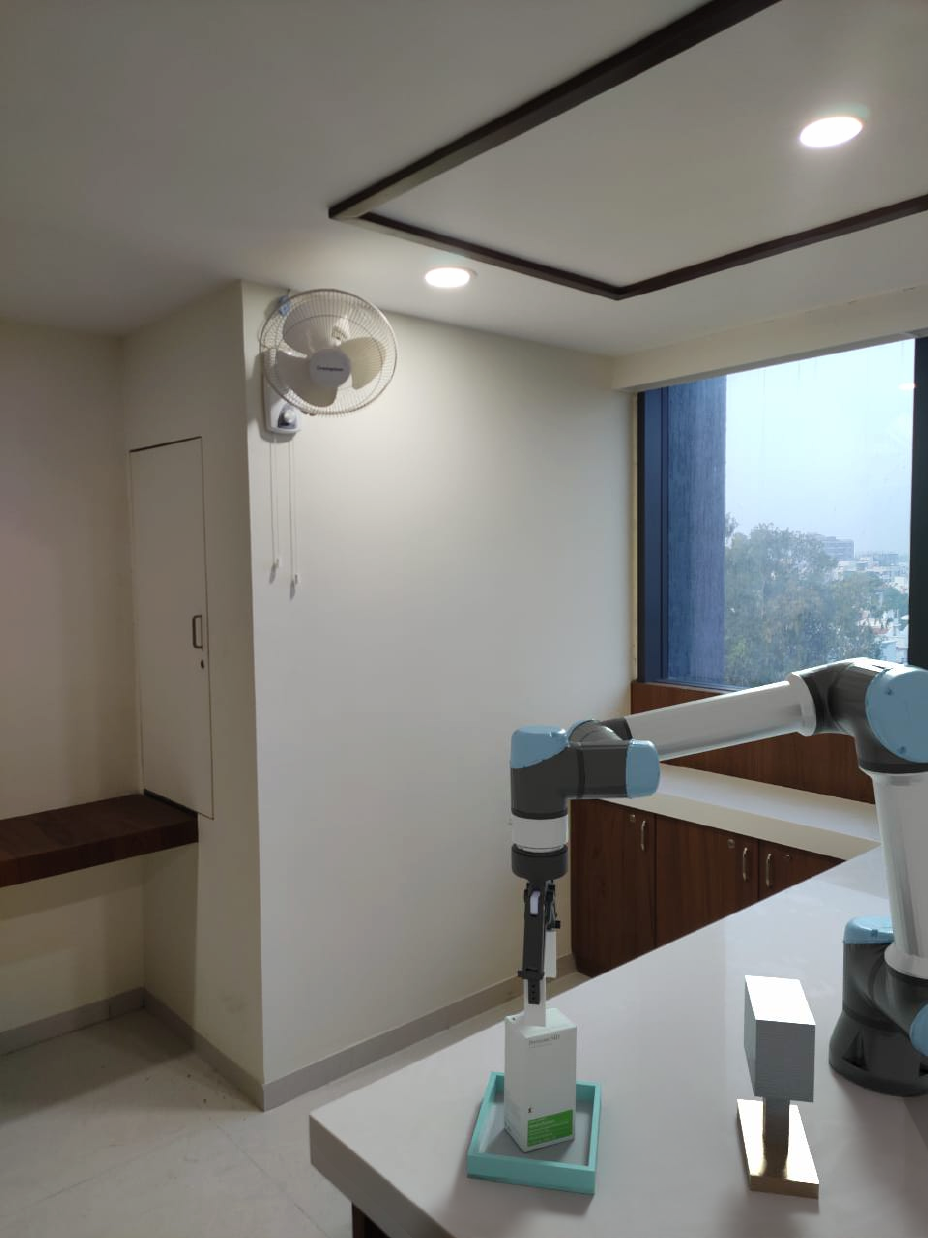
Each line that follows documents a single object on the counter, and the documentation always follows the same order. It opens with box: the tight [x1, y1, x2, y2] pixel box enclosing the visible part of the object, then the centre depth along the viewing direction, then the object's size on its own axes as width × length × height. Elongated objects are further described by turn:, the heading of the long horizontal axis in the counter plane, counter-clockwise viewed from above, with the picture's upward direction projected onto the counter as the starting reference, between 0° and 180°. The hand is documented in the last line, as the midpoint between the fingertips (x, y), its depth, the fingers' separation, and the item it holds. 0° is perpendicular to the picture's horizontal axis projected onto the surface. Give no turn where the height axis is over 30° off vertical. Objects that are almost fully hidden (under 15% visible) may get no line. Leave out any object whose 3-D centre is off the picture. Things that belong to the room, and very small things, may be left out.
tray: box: [466, 1071, 602, 1195], centre depth 122 cm, size 16×19×3 cm
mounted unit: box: [736, 975, 820, 1200], centre depth 118 cm, size 8×16×21 cm, turn 169°
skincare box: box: [503, 1007, 578, 1152], centre depth 122 cm, size 8×7×16 cm
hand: (541, 999), depth 120 cm, fingers open, 13 cm apart
